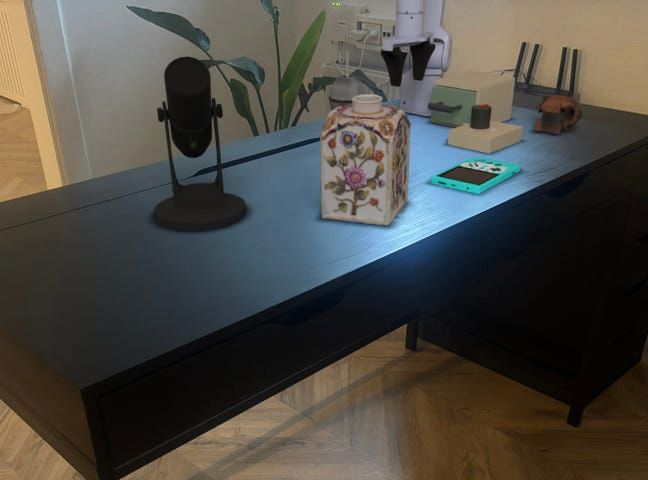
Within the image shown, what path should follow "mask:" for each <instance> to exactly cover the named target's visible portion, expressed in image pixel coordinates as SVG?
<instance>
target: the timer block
mask: <svg viewBox="0 0 648 480" xmlns="http://www.w3.org/2000/svg"><path fill="white" fill-rule="evenodd" d="M463 124H466V125H463V126H460V127H453V128H451V129H448V138H447V139H448V140H447V145H448V146H452V147H457V148H462V149H467V150H470V151H476V152H478V153H479V152H480V153H484V154H487V155H488V154H492V153H494V152H497V151H499V150H502V149H505V148H507V147H509V146H512V145H514V144H517V143H519V142H522V135H523V126H521V125H515V124H510V123H505V122H495V121H490V127H489V128H488V129H474V128H471V127H470V123H468V124H467V123H463Z"/></svg>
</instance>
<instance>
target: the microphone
mask: <svg viewBox="0 0 648 480" xmlns="http://www.w3.org/2000/svg"><path fill="white" fill-rule="evenodd" d="M211 78H212V77H211V72H210V69H209V68H208V67H207V64H205V63H204V62H203V61H202V60H200V59H198V58H197V57H192V56H180V57H176V58H174V59H172V61H170V62H169V63H168V64H167V66H165V70H164V73H163V79H164V80H163V81H164V87H165V88H164V89H165V95H166V101H165V100H163V101H162V103H161V104H162V107H157V108H156V112H157V121H158V122H159V123H164V129H165V130H164V131H165V137H166V146H167V153H168V164H169V170H170V171H169V172H170V180H171V186H172V187H171V188H172V195H173V196H170V197H167V198H165V199H164V200H161V201H160V202H158V203H157V204H156V205H155V207H154V210H153V211H154V212H153V213H154V218H155V222H156V223H157V224H158V225H160V226H161V227H164V228H166V229H170V230H175V231H180V232H182V231H183V232H205V231H210V230H217V229H222V228H225V227H229V226H231V225H234V224H236V223H239V222H240V221H241V220H242V219H244V218H245V216H246V214H247V204H246V201H245V199H243V198H242V197H240V196H239V195H236V194H233V193H228V192H225V189H224V178H223V168H222V167H223V166H222V156H221V142H220V133H219V119H222V118H223V117H224V111H223V105H222V104H221V103H217V101H216V97H212V83H211V82H212V79H211ZM213 132H214V139H215V140H214V141H215V152H216V175H215V176H216V177H215V179H214V181H213V182H197V183H189V184H188V183H187V184H181V183H180V182H179V180H178V178H177V174H176V170H175V164H174V161H173V151H172V143H173V144H174V146H175V147H176V148H177V149H178V151H179V153H181V154H182V155H183V156H184V157H187V158H188V159H189V158H190V159H197V158H200V157H201V156H203V155H204V154H205V153H206V151H207V149H208V148H209V147H210V145H211V143H212V140H213ZM171 140H172V143H171Z"/></svg>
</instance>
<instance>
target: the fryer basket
mask: <svg viewBox="0 0 648 480" xmlns="http://www.w3.org/2000/svg"><path fill="white" fill-rule="evenodd" d="M476 97H477V91H472V90H466V89H459V88H453V87H447V86H437V85H435V86H433V88H432V103H429V104H428V109H430V110H431V116H430V120H435V121H440V122H445V123H450V124H455V125H460V126H463V125H466V124H463V123H467V124H468V123H470V121H471V110H472V106H474V105H476Z"/></svg>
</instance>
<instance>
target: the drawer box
mask: <svg viewBox="0 0 648 480" xmlns="http://www.w3.org/2000/svg"><path fill="white" fill-rule="evenodd" d="M515 83H516V77H514V76H509V75H500V74H494V73H486V72H480V71H473V70H468V71H465V72H461V73H457V74H453V75H449V76H446V77H443V78H442V79H438V80H434V86H435V85H437V86H447V87H453V88H459V89H466V90H472V91H477V97H476V105H483V104H488V106H491V107H492V109H491V119H490V121H495V122H501V123H504V122H506V121H509V120H511V118H512V110H513V100H514V93H515ZM430 120H431V119H430ZM430 122H431V123H432V124H433V123H434V124H438V125H443V126H447V127H453V128H457V127H460V125H455V124H450V123H445V122H440V121H435V120H431V121H430Z"/></svg>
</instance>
